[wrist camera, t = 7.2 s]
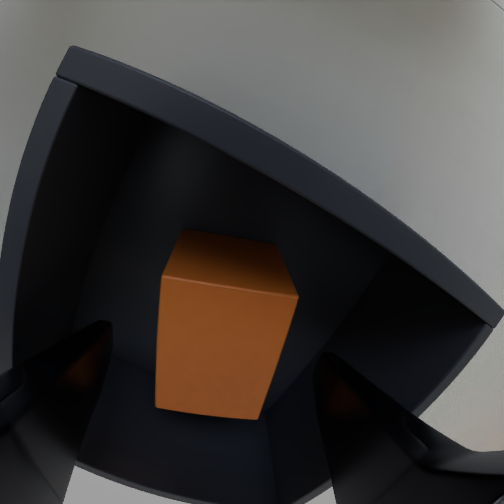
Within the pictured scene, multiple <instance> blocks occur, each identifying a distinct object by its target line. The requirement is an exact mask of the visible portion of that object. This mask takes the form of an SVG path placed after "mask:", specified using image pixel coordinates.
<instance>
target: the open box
mask: <svg viewBox="0 0 504 504" xmlns="http://www.w3.org/2000/svg"><path fill="white" fill-rule="evenodd" d="M56 75H57V76H56V77H54V78H53V80H52V82H51V84H50V86H49V89H48V91H47V93H46V95H45V98H44V100H43V102H42V105H41V107H40V110H39V112H38V115H37V117H36V120H35V122H34V125H33V128H32V130H31V133H30V136H29V139H28V142H27V145H26V148H25V151H24V154H23V157H22V160H21V164H20V167H19V171H18V174H17V178H16V182H15V185H14V189H13V193H12V198H11V202H10V206H9V211H8V216H7V221H6V226H5V232H4V238H3V244H2V251H1V258H0V374H1V373H3V372H5V371H7V370H9V369H11V368H13V367H14V366H16V365H18V364H21V363H22V362H23V361H25V360H27V359H29V358H31V357H32V356H34V355H36V354H38V353H39V352H41V351H43V350H45V349H47V348H48V347H50V346H52V345H54V344H56V343H57V342H59V341H61V340H63V339H65V338H67V337H68V336H70V335H72V334H74V333H76V332H77V331H79V330H81V329H83V328H85V327H86V326H88V325H90V324H92V323H94V322H96V321H97V320H105V321H109V322H111V323H112V325H113V351H112V354H111V358H110V362H109V365H108V369H107V373H106V376H105V380H104V384H103V387H102V391H101V394H100V396H99V399H98V401H97V404H96V407H95V409H94V412H93V414H92V417H91V420H90V422H89V425H88V428H87V431H86V433H85V436H84V439H83V442H82V445H81V448H80V450H79V453H78V456H77V459H76V462H75V466H77V467H80V468H82V469H84V470H87V471H89V472H91V473H94V474H96V475H99V476H101V477H104V478H106V479H109V480H112V481H114V482H117V483H120V484H123V485H126V486H128V487H131V488H135V489H138V490H141V491H145V492H148V493H151V494H155V495H158V496H162V497H165V498H169V499H173V500H177V501H182V502H186V503H191V504H305V503H306V502H308V501H310V500H311V499H313V498H315V497H316V496H318V495H319V494H321V493H323V492H324V491H326V490H327V489H329V488H330V487H332V486H333V485H332V481H331V476H330V472H329V467H328V463H327V459H326V454H325V450H324V445H323V441H322V437H321V433H320V428H319V424H318V419H317V414H316V406H315V397H314V388H313V379H312V373H313V370H314V367H315V365H316V362H317V360H318V358H319V355H320V354H321V353H322V352H333V353H335V354H336V355H338V356H339V357H340V358H341V359H343V360H344V361H345V362H347V363H348V364H349V365H350V366H352V367H353V368H354V369H355V370H357V371H358V372H359V373H361V374H362V375H363V376H364V377H366V378H367V379H368V380H369V381H371V382H372V383H373V384H375V385H376V386H377V387H378V388H380V389H381V390H382V391H384V392H385V393H386V394H388V395H389V396H390V397H391V398H393V399H394V400H395V401H397V402H398V403H399V404H401V405H402V406H403V407H404V408H406V410H409V411H410V412H411V413H412V414H414V415H415V416H416V417H419V416H420V415H421V414H422V413H423V412H424V411H425V410H426V409H427V408H428V407H429V406H430V405H431V404H432V403H433V402H434V401H435V400H436V399H437V398H438V397H439V396H440V395H441V393H442V392H443V391H444V390H445V389H446V388H447V387H448V386H449V385H450V384H451V382H452V381H453V380H454V379H455V378H456V377H457V376H458V374H459V373H460V372H461V371H462V370H463V369H464V367H465V366H466V365H467V364H468V363H469V361H470V360H471V359H472V358H473V356H474V355H475V354H476V353H477V351H478V350H479V349H480V347H481V346H482V345H483V343H484V342H485V341H486V339H487V338H488V337H489V335H490V334H491V333H492V331H493V328H495V327H496V326H497V324H498V323H499V321H500V320H501V318H502V317H503V315H504V310H503V309H502V308H501V307H500V306H499V305H498V304H497V303H496V302H495V301H494V300H493V299H492V298H491V297H490V296H489V295H488V294H487V293H486V292H485V291H484V290H483V289H482V288H480V287H479V286H478V285H477V284H476V283H475V282H474V281H473V280H472V279H471V278H470V277H468V276H467V275H466V274H465V273H464V272H463V271H462V270H461V269H459V268H458V267H457V266H456V265H455V264H454V263H453V262H451V261H450V260H449V259H448V258H447V257H446V256H444V255H443V254H442V253H441V252H440V251H438V250H437V249H436V248H435V247H434V246H432V245H431V244H430V243H429V242H427V241H426V240H425V239H424V238H422V237H421V236H420V235H419V234H417V233H416V232H415V231H414V230H412V229H411V228H410V227H408V226H407V225H406V224H405V223H403V222H402V221H401V220H399V219H398V218H397V217H395V216H394V215H393V214H391V213H390V212H389V211H387V210H386V209H385V208H383V207H382V206H380V205H379V204H378V203H376V202H375V201H374V200H372V199H371V198H369V197H368V196H367V195H365V194H364V193H362V192H361V191H359V190H358V189H357V188H355V187H354V186H352V185H351V184H349V183H348V182H346V181H345V180H343V179H342V178H340V177H339V176H337V175H336V174H334V173H333V172H331V171H330V170H328V169H327V168H325V167H324V166H322V165H320V164H319V163H317V162H316V161H314V160H312V159H311V158H309V157H308V156H306V155H304V154H303V153H301V152H300V151H298V150H296V149H295V148H293V147H291V146H290V145H288V144H286V143H285V142H283V141H281V140H280V139H278V138H276V137H274V136H273V135H271V134H269V133H267V132H266V131H264V130H262V129H260V128H259V127H257V126H255V125H253V124H251V123H250V122H248V121H246V120H244V119H242V118H240V117H238V116H237V115H235V114H233V113H231V112H229V111H227V110H225V109H223V108H221V107H219V106H217V105H215V104H213V103H211V102H209V101H207V100H205V99H203V98H201V97H199V96H197V95H195V94H193V93H191V92H189V91H187V90H185V89H182V88H180V87H178V86H176V85H174V84H171V83H169V82H167V81H165V80H163V79H160V78H158V77H156V76H153V75H151V74H149V73H146V72H144V71H141V70H139V69H137V68H134V67H132V66H129V65H127V64H124V63H122V62H119V61H116V60H114V59H111V58H108V57H106V56H103V55H100V54H97V53H95V52H92V51H89V50H86V49H83V48H80V47H77V46H70V47H69V49H68V51H67V53H66V55H65V57H64V58H63V60H62V62H61V64H60V66H59V68H58V70H57V72H56ZM182 229H189V230H195V231H201V232H207V233H213V234H219V235H225V236H231V237H237V238H242V239H248V240H254V241H260V242H266V243H271V244H276V245H277V247H278V249H279V252H280V254H281V256H282V259H283V261H284V263H285V266H286V268H287V270H288V272H289V275H290V277H291V280H292V282H293V284H294V287H295V289H296V291H297V294H298V296H299V299H298V302H297V305H296V309H295V312H294V315H293V318H292V321H291V324H290V328H289V331H288V334H287V337H286V340H285V343H284V346H283V349H282V352H281V355H280V358H279V361H278V364H277V367H276V370H275V373H274V376H273V378H272V381H271V384H270V387H269V390H268V393H267V395H266V398H265V401H264V404H263V407H262V409H261V412H260V415H259V417H258V419H257V420H252V419H239V418H227V417H217V416H208V415H200V414H193V413H186V412H179V411H173V410H167V409H161V408H157V407H156V406H155V370H156V343H157V324H158V308H159V295H160V283H161V276H162V273H163V271H164V269H165V266H166V264H167V262H168V260H169V257H170V255H171V253H172V251H173V248H174V246H175V244H176V242H177V240H178V237H179V235H180V233H181V231H182Z"/></svg>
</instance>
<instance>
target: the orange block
mask: <svg viewBox="0 0 504 504" xmlns="http://www.w3.org/2000/svg"><path fill="white" fill-rule="evenodd" d="M298 299H299V296H298V294H297V291H296V289H295V287H294V284H293V282H292V280H291V277H290V275H289V272H288V270H287V268H286V266H285V263H284V261H283V259H282V256H281V254H280V252H279V249H278V247H277V245H276V244H271V243H266V242H260V241H254V240H248V239H242V238H237V237H231V236H225V235H219V234H213V233H207V232H201V231H195V230H189V229H182V231H181V233H180V235H179V237H178V240H177V242H176V244H175V246H174V248H173V251H172V253H171V255H170V257H169V260H168V262H167V264H166V266H165V269H164V271H163V273H162V276H161V283H160V295H159V308H158V324H157V343H156V370H155V406H156V407H157V408H161V409H167V410H173V411H179V412H186V413H193V414H200V415H208V416H217V417H227V418H239V419H252V420H257V419H258V417H259V415H260V412H261V409H262V407H263V404H264V401H265V398H266V395H267V393H268V390H269V387H270V384H271V381H272V378H273V376H274V373H275V370H276V367H277V364H278V361H279V358H280V355H281V352H282V349H283V346H284V343H285V340H286V337H287V334H288V331H289V328H290V324H291V321H292V318H293V315H294V312H295V309H296V305H297V302H298Z"/></svg>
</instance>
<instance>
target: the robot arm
mask: <svg viewBox="0 0 504 504" xmlns="http://www.w3.org/2000/svg"><path fill="white" fill-rule="evenodd" d="M112 351H113V325H112V323H111V322H109V321H105V320H97V321H96V322H94V323H92V324H90V325H88V326H86V327H85V328H83V329H81V330H79V331H77V332H76V333H74V334H72V335H70V336H68V337H67V338H65V339H63V340H61V341H59V342H57V343H56V344H54V345H52V346H50V347H48V348H47V349H45V350H43V351H41V352H39V353H38V354H36V355H34V356H32V357H31V358H29V359H27V360H25V361H23V362H22V363H21V364H18V365H16V366H14V367H13V368H11V369H9V370H7V371H5V372H3V373H1V374H0V504H63V503H62V502H63V501H64V498H65V494H66V491H67V487H68V484H69V481H70V478H71V475H72V471H73V468H74V465H75V462H76V459H77V456H78V453H79V450H80V448H81V445H82V442H83V439H84V436H85V433H86V431H87V428H88V425H89V422H90V420H91V417H92V414H93V412H94V409H95V407H96V404H97V401H98V399H99V396H100V394H101V391H102V387H103V384H104V380H105V376H106V373H107V369H108V365H109V362H110V358H111V354H112ZM312 379H313V388H314V397H315V406H316V414H317V419H318V424H319V428H320V433H321V437H322V441H323V445H324V450H325V454H326V459H327V463H328V467H329V472H330V476H331V481H332V485H333V489H334V494H335V499H336V503H337V504H504V450H503V451H490V452H477V451H472V450H469V449H467V448H465V447H463V446H461V445H460V444H458V443H456V442H455V441H453V440H451V439H450V438H448V437H447V436H445V435H443V434H442V433H440V432H438V431H437V430H435V429H434V428H432V427H431V426H429V425H428V424H426V423H425V422H423V421H422V420H421V419H419V418H418V417H416V416H415V415H414V414H412V413H411V412H410V411H409V410H406V408H404V407H403V406H402V405H401V404H399V403H398V402H397V401H395V400H394V399H393V398H391V397H390V396H389V395H388V394H386V393H385V392H384V391H382V390H381V389H380V388H378V387H377V386H376V385H375V384H373V383H372V382H371V381H369V380H368V379H367V378H366V377H364V376H363V375H362V374H361V373H359V372H358V371H357V370H355V369H354V368H353V367H352V366H350V365H349V364H348V363H347V362H345V361H344V360H343V359H341V358H340V357H339V356H338V355H336V354H335V353H333V352H322V353H321V354H320V355H319V358H318V360H317V362H316V365H315V367H314V370H313V373H312Z"/></svg>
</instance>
